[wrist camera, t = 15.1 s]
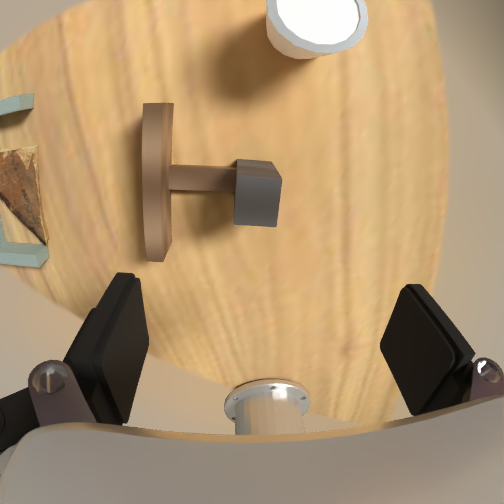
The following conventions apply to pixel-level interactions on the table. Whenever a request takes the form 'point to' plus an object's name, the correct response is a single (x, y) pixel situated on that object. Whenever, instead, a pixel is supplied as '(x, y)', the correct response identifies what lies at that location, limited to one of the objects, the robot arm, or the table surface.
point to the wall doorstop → (197, 183)
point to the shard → (23, 188)
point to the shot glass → (315, 26)
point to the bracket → (3, 250)
